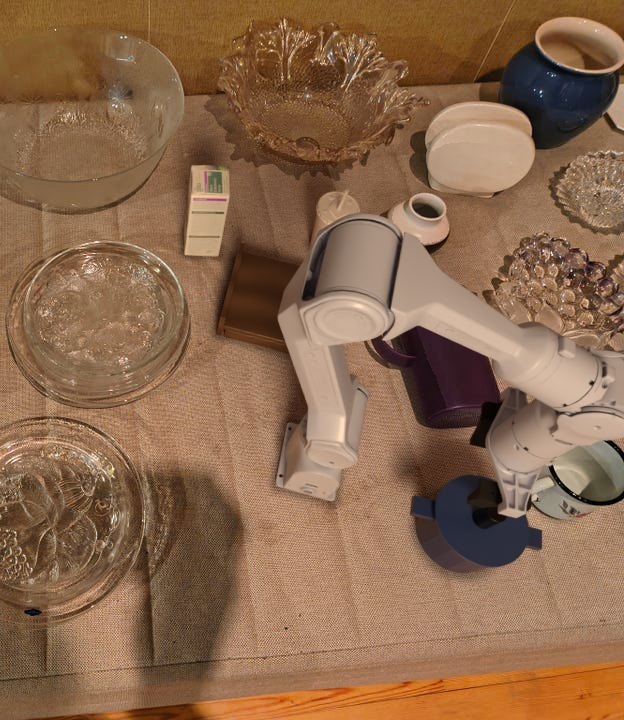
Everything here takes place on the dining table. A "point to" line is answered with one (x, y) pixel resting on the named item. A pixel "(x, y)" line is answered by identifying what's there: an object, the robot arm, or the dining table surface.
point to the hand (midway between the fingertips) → (476, 473)
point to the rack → (256, 300)
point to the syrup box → (206, 209)
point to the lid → (478, 526)
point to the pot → (437, 545)
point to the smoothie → (333, 209)
